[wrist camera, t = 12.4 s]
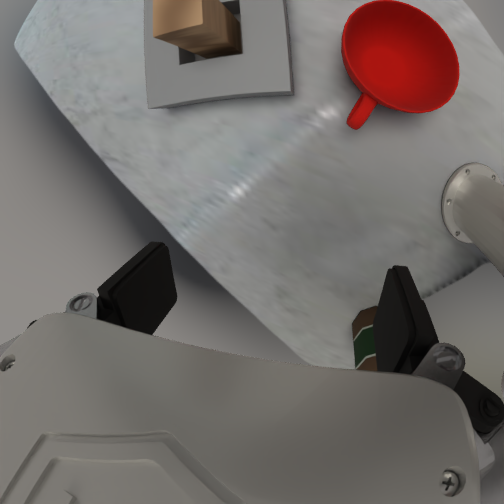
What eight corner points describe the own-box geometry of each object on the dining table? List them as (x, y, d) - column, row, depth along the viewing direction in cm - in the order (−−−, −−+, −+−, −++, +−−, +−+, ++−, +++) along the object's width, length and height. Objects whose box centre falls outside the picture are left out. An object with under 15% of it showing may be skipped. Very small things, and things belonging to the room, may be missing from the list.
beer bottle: (349, 337, 47) (351, 457, 27) (354, 305, 44) (363, 435, 23) (388, 336, 46) (405, 452, 25) (396, 304, 42) (426, 428, 21)
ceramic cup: (301, 98, 31) (297, 91, 23) (362, 9, 23) (376, -21, 14) (382, 154, 32) (405, 168, 24) (440, 66, 24) (476, 57, 15)
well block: (283, -17, 23) (278, -34, 18) (293, 94, 31) (290, 91, 26) (163, 6, 27) (144, -4, 22) (168, 108, 35) (148, 108, 30)
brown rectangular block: (239, 22, 27) (201, -18, 15) (242, 53, 29) (202, 23, 17) (204, 28, 28) (153, -3, 16) (206, 58, 30) (152, 37, 18)
